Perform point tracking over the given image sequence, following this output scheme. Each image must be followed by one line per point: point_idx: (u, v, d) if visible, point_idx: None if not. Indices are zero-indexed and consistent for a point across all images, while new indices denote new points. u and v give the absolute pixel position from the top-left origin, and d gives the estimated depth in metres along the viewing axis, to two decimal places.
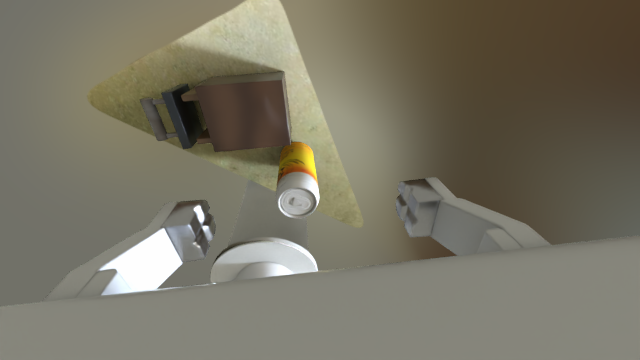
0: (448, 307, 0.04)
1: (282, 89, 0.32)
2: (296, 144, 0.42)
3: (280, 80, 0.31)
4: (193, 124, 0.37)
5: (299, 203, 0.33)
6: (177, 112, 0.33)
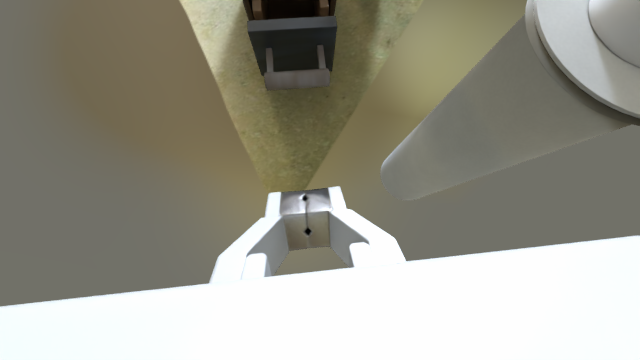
0: (448, 307, 0.04)
1: None
2: None
3: None
4: None
5: None
6: (277, 20, 0.22)
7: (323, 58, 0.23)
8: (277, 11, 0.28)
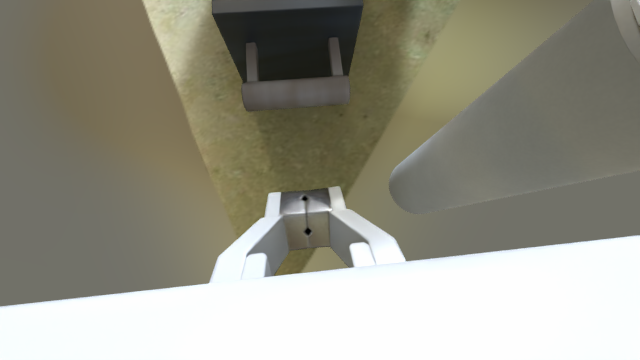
0: (448, 307, 0.04)
1: None
2: None
3: None
4: None
5: None
6: None
7: (338, 59, 0.14)
8: None
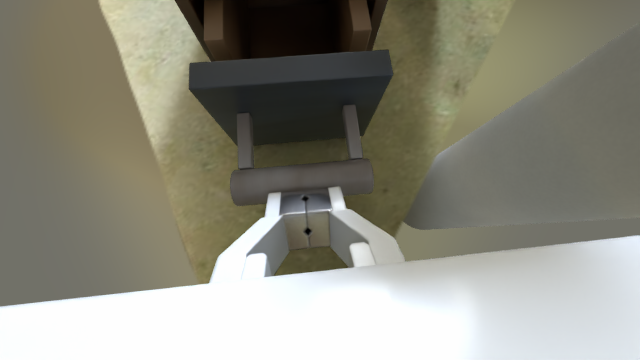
0: (448, 307, 0.04)
1: None
2: None
3: None
4: None
5: None
6: (257, 60, 0.10)
7: (357, 135, 0.11)
8: (266, 30, 0.16)
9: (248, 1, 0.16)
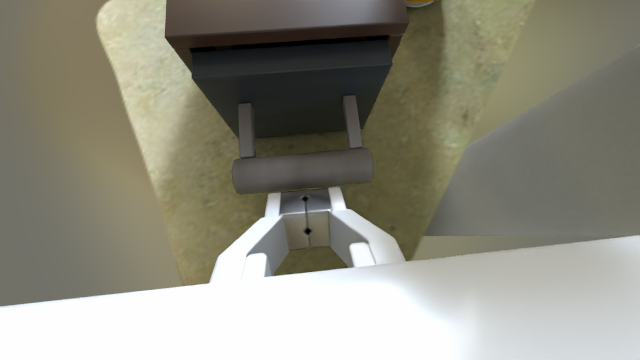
0: (448, 307, 0.04)
1: None
2: None
3: None
4: None
5: None
6: (259, 50, 0.10)
7: (357, 125, 0.11)
8: None
9: None
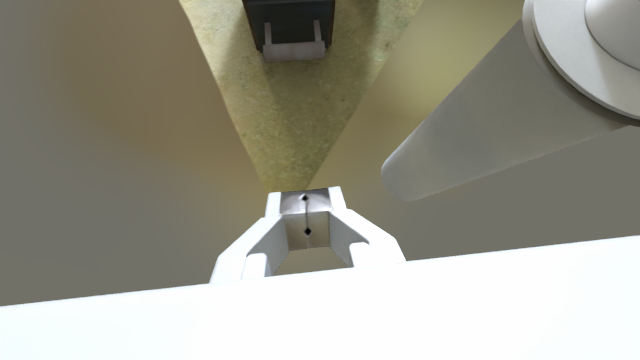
0: (448, 307, 0.04)
1: None
2: None
3: None
4: None
5: None
6: None
7: (319, 32, 0.24)
8: None
9: None
